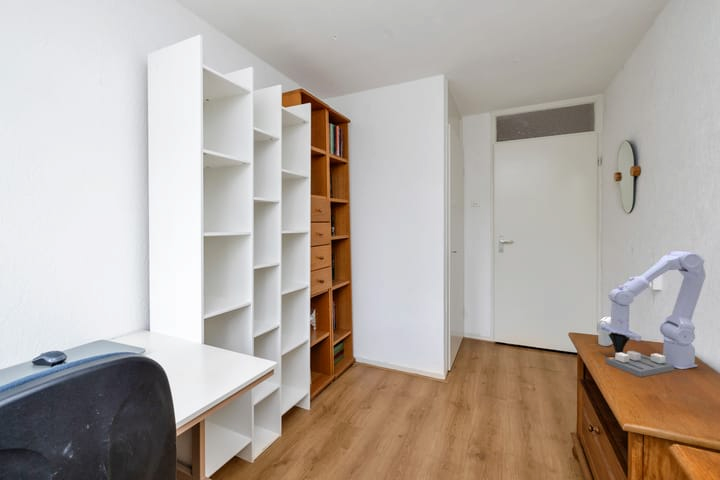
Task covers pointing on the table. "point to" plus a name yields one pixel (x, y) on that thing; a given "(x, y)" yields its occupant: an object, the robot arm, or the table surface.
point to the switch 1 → (622, 357)
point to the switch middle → (634, 355)
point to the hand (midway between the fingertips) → (618, 352)
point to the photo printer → (604, 332)
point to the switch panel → (641, 366)
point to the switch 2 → (658, 358)
